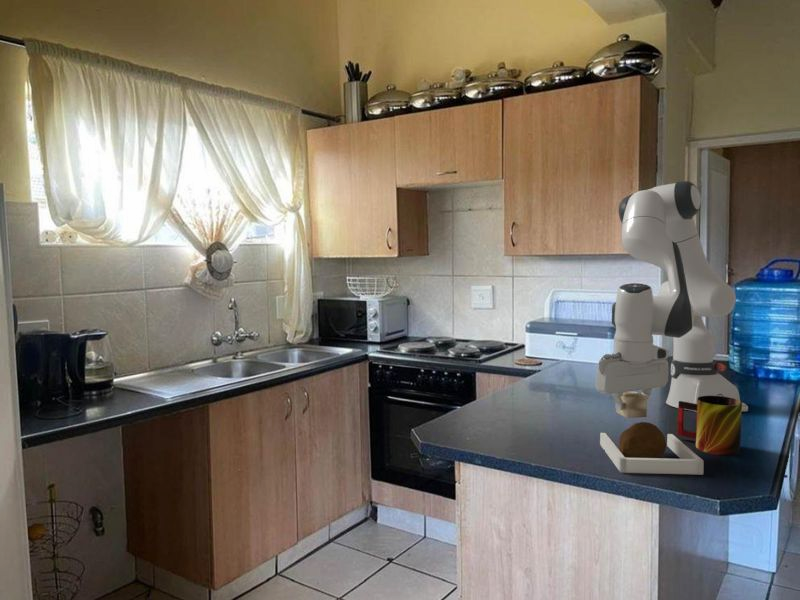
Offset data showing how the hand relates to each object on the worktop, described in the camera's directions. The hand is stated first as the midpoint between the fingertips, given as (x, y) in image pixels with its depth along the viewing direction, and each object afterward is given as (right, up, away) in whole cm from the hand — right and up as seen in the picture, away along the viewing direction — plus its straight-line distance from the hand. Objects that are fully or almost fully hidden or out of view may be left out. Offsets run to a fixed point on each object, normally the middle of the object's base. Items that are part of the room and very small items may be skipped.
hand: (631, 408), depth 148 cm
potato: (0, -11, -6) cm, 13 cm away
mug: (+20, -10, +2) cm, 22 cm away
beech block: (0, -2, 0) cm, 2 cm away
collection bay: (+2, -11, -5) cm, 12 cm away
